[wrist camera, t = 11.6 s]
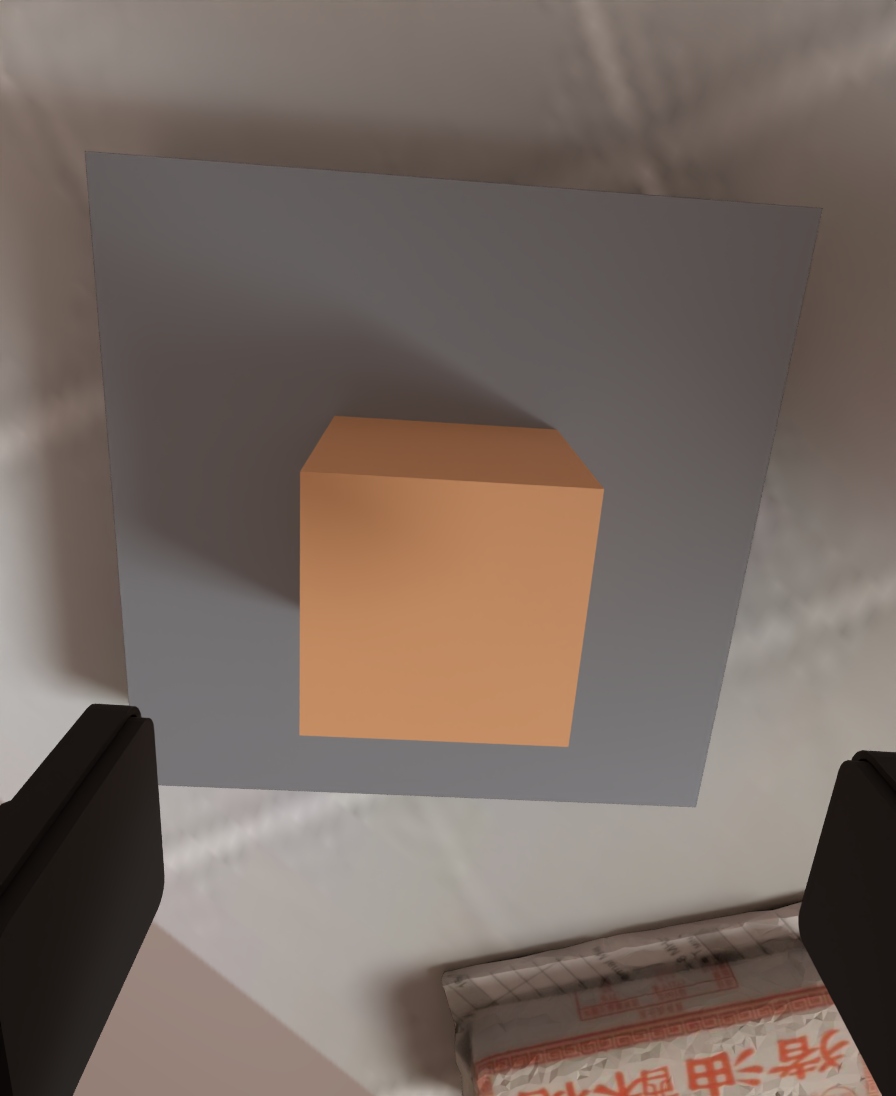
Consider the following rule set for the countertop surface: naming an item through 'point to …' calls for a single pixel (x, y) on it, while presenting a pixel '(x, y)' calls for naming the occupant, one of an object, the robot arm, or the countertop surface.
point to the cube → (443, 582)
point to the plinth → (433, 396)
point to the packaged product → (658, 1017)
